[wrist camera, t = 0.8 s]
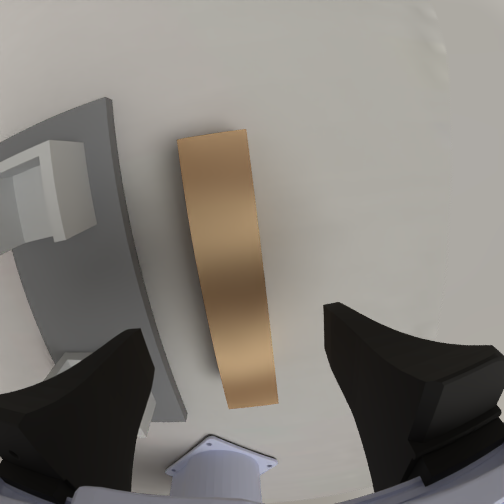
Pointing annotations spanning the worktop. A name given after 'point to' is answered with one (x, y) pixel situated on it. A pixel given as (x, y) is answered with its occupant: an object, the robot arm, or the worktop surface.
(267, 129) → the worktop surface
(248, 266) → the rail
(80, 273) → the bracket board
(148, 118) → the worktop surface
